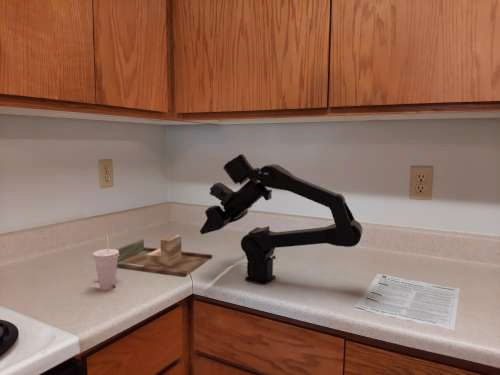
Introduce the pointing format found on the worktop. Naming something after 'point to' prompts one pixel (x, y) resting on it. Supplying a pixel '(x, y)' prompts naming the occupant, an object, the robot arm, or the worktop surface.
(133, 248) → the brown wooden tray
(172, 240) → the step block
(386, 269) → the worktop surface
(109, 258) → the smoothie
